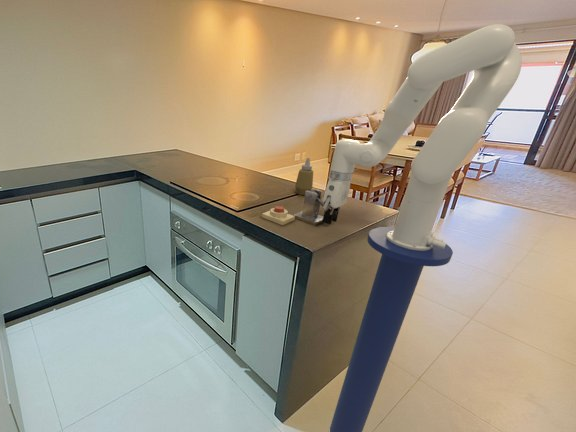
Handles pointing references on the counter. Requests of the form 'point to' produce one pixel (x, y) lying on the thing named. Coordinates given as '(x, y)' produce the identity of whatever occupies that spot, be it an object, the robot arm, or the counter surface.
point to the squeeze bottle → (304, 178)
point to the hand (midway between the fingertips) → (329, 221)
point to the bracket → (310, 208)
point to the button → (279, 209)
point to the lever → (323, 205)
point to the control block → (278, 217)
